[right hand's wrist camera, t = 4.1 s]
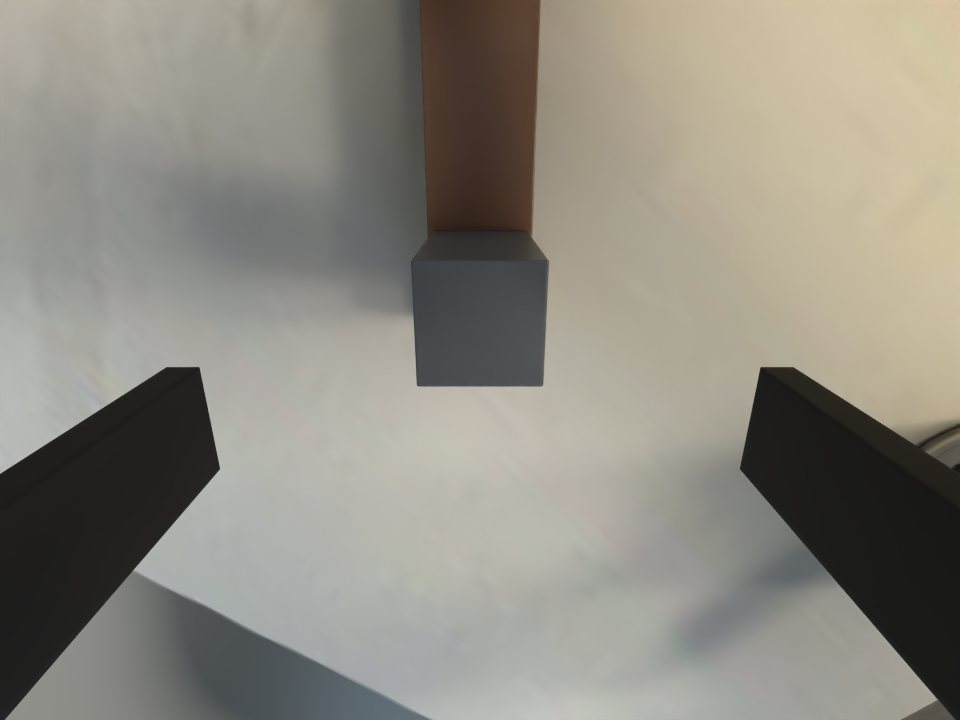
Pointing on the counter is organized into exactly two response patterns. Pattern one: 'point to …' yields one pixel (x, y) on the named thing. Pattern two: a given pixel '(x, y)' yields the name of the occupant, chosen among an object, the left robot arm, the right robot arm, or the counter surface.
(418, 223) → the counter surface
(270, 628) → the counter surface
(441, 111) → the walnut rail
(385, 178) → the counter surface
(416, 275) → the grey block
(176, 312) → the counter surface
